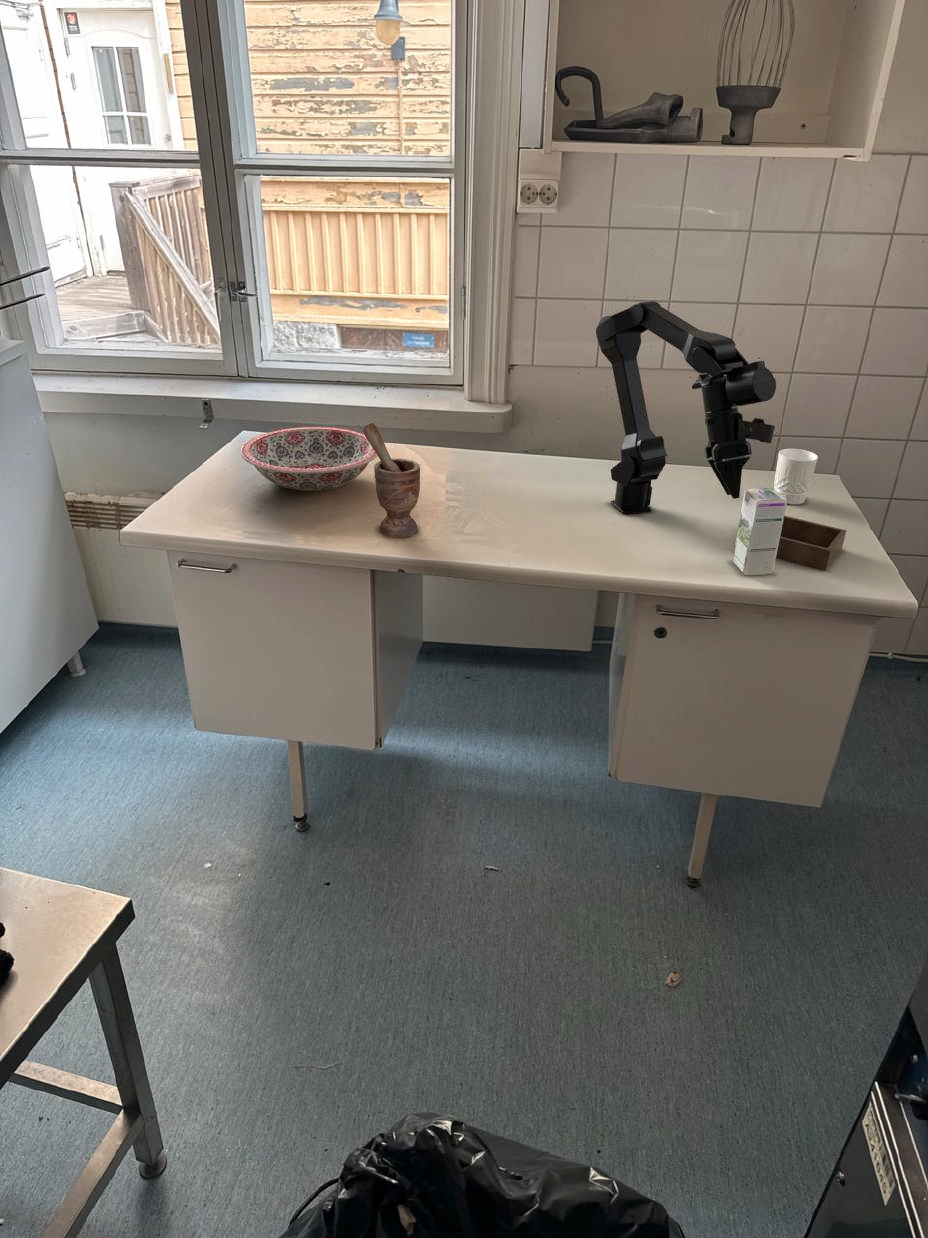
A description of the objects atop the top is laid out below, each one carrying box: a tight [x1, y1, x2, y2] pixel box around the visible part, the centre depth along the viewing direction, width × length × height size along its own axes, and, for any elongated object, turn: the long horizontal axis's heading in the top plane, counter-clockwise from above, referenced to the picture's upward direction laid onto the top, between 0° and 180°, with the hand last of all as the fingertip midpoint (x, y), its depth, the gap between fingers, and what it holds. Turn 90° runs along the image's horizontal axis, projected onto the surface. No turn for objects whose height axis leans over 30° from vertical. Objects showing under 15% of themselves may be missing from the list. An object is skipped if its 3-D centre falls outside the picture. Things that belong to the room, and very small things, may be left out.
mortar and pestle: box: [362, 422, 421, 537], centre depth 170 cm, size 12×9×20 cm
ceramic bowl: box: [240, 426, 378, 492], centre depth 193 cm, size 29×29×8 cm
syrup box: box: [731, 487, 788, 576], centre depth 161 cm, size 6×6×14 cm
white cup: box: [773, 448, 819, 505], centre depth 193 cm, size 8×8×10 cm
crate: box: [776, 515, 847, 571], centre depth 171 cm, size 16×12×4 cm
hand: (733, 496), depth 164 cm, fingers open, 9 cm apart
